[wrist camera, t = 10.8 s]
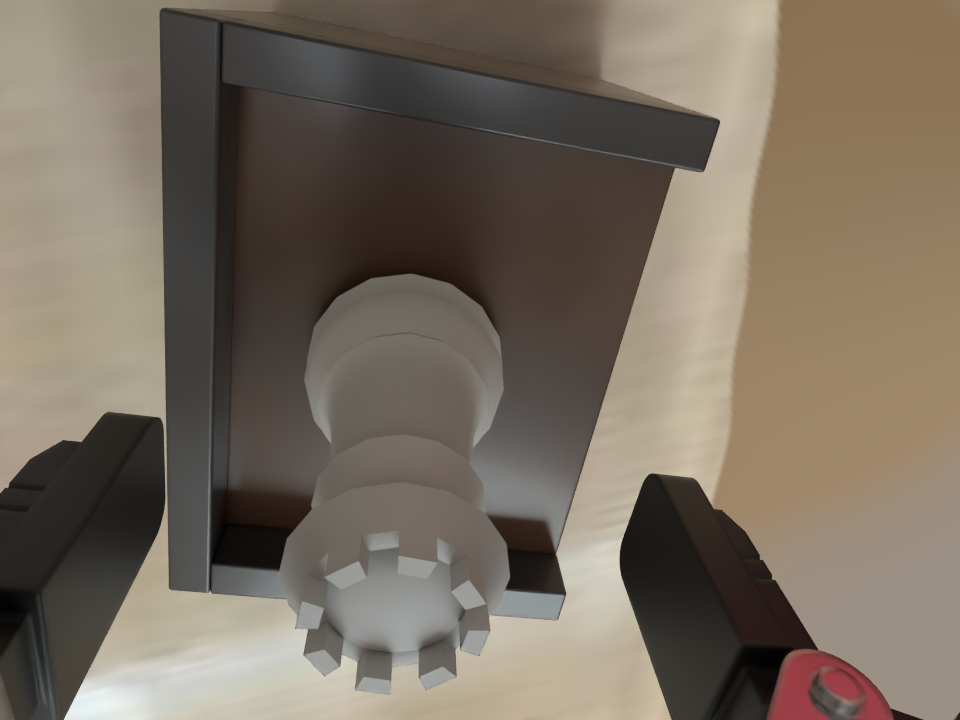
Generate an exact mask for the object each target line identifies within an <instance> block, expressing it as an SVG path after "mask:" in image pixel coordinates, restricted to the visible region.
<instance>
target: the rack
mask: <svg viewBox="0 0 960 720" xmlns="http://www.w3.org/2000/svg"><path fill="white" fill-rule="evenodd" d="M160 72H161V133H162V193H163V254H164V315H165V375H166V436H167V497H168V557H169V588H170V589H171V590H178V591H191V592H204V593H208V592H210V590H211V593H213V594H225V595H238V596H251V597H263V598H276V599H287V597H286V594H285V591H284V588H283V584H282V581H281V578H280V575H279V571H280V566H281V562H282V558H283V553H284V549H285V545H286V540H287V538H288V537H289V535H290V534H291V533H292V532H293V531H294V530H295V529H296V527H297V526H298V525H299V524H300V523H301V522H302V521H303V519H304V518H305V517H306V516H307V515H308V514H309V512H310V511H311V510H312V506H311V503H312V499H313V495H314V491H315V487H316V483H317V479H318V477H319V476H320V474H321V473H322V472H323V471H324V470H325V468H326V467H327V466H328V465H329V464H330V463H331V461H332V459H331V443H330V442H329V440H328V439H327V438H326V436H325V435H324V433H323V431H322V430H321V429H320V427H319V426H318V425H317V424H316V422H315V421H314V418H313V414H312V410H311V406H310V402H309V398H308V394H307V390H306V386H305V381H304V377H305V372H306V367H307V357H308V353H309V348H310V344H311V339H312V334H313V330H314V326H315V325H316V323H317V322H318V321H319V320H320V318H321V317H322V316H323V314H324V313H325V312H326V310H327V309H328V308H329V307H330V305H331V304H332V303H333V301H334V300H335V299H336V298H337V297H338V296H340V295H342V294H343V293H345V292H347V291H349V290H351V289H353V288H354V287H356V286H358V285H360V284H362V283H364V282H365V281H367V280H369V279H371V278H378V277H387V276H395V275H404V274H415V275H419V276H423V277H427V278H431V279H435V280H438V281H442V282H446V283H450V284H452V285H453V286H455V287H456V288H457V289H459V290H460V291H461V292H463V293H464V294H465V295H467V296H468V297H469V298H471V299H472V300H474V301H475V302H476V303H478V304H479V305H480V306H482V308H483V310H484V311H485V313H486V315H487V317H488V318H489V320H490V322H491V323H492V325H493V327H494V329H495V330H496V332H497V334H498V336H499V337H500V347H501V358H502V369H503V372H502V375H503V386H504V390H503V393H502V396H501V399H500V402H499V404H498V407H497V410H496V413H495V415H494V418H493V421H492V424H491V426H490V429H489V430H488V431H487V432H486V433H485V434H484V435H483V436H482V437H481V438H480V440H479V442H478V443H477V444H476V445H475V446H474V447H473V450H472V459H471V466H472V468H473V469H474V471H475V472H476V474H477V475H478V477H479V478H480V480H481V481H482V483H483V488H484V497H485V505H486V512H485V513H486V515H487V516H488V518H489V519H490V520H491V522H492V523H493V525H494V526H495V528H496V529H497V531H498V532H499V533H500V535H501V536H502V538H503V539H504V541H505V542H506V544H507V552H508V561H509V571H510V579H509V581H508V584H507V586H506V588H505V591H504V593H503V595H502V598H501V600H500V603H499V605H498V607H497V609H496V610H495V611H494V612H493V613H492V614H491V615H495V616H508V617H521V618H534V619H547V620H558V618H559V615H560V612H561V609H562V606H563V603H564V599H565V596H566V591H565V587H564V583H563V579H562V575H561V571H560V567H559V563H558V559H557V556H556V552H557V549H558V546H559V543H560V539H561V536H562V533H563V530H564V526H565V523H566V520H567V517H568V513H569V510H570V507H571V504H572V500H573V497H574V494H575V491H576V487H577V484H578V481H579V478H580V474H581V471H582V468H583V465H584V461H585V458H586V455H587V452H588V448H589V445H590V442H591V439H592V435H593V432H594V429H595V426H596V422H597V419H598V416H599V413H600V409H601V406H602V403H603V400H604V396H605V393H606V390H607V387H608V383H609V380H610V377H611V374H612V370H613V367H614V364H615V361H616V357H617V354H618V351H619V348H620V344H621V341H622V338H623V335H624V331H625V328H626V325H627V322H628V318H629V315H630V312H631V309H632V305H633V302H634V299H635V296H636V292H637V289H638V286H639V283H640V279H641V276H642V273H643V270H644V266H645V263H646V260H647V257H648V253H649V250H650V247H651V244H652V240H653V237H654V234H655V231H656V227H657V224H658V221H659V218H660V214H661V211H662V208H663V205H664V201H665V198H666V195H667V192H668V188H669V185H670V182H671V179H672V175H673V172H674V169H675V168H679V169H684V170H690V171H695V172H703V171H704V170H705V168H706V165H707V161H708V158H709V155H710V152H711V149H712V146H713V143H714V140H715V137H716V134H717V131H718V128H719V125H720V121H719V120H718V119H717V118H714V117H711V116H708V115H705V114H702V113H699V112H696V111H693V110H689V109H687V108H684V107H681V106H678V105H675V104H672V103H669V102H666V101H663V100H660V99H657V98H655V97H652V96H649V95H646V94H643V93H640V92H637V91H634V90H631V89H628V88H625V87H622V86H619V85H616V84H613V83H610V82H607V81H604V80H601V79H597V78H592V77H587V76H582V75H577V74H572V73H567V72H562V71H558V70H553V69H548V68H543V67H538V66H533V65H528V64H523V63H519V62H514V61H509V60H504V59H499V58H494V57H489V56H484V55H479V54H475V53H470V52H465V51H460V50H455V49H450V48H445V47H440V46H435V45H431V44H426V43H421V42H416V41H411V40H406V39H401V38H396V37H391V36H387V35H382V34H377V33H372V32H367V31H362V30H357V29H352V28H348V27H343V26H338V25H333V24H328V23H323V22H318V21H313V20H308V19H304V18H299V17H294V16H289V15H284V14H279V13H274V12H252V11H230V10H208V9H206V10H205V9H182V8H162V9H161V10H160Z"/></svg>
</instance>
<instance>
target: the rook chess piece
mask: <svg viewBox="0 0 960 720" xmlns="http://www.w3.org/2000/svg"><path fill="white" fill-rule="evenodd" d="M502 372H503V369H502V358H501V347H500V337H499V336H498V334H497V332H496V330H495V329H494V327H493V325H492V323H491V322H490V320H489V318H488V317H487V315H486V313H485V311H484V310H483V308H482V306H480V305H479V304H478V303H476V302H475V301H474V300H472V299H471V298H469V297H468V296H467V295H465V294H464V293H463V292H461V291H460V290H459V289H457V288H456V287H455V286H453V285H452V284H450V283H446V282H442V281H438V280H435V279H431V278H427V277H423V276H419V275H415V274H404V275H395V276H387V277H378V278H371V279H369V280H367V281H365V282H364V283H362V284H360V285H358V286H356V287H354V288H353V289H351V290H349V291H347V292H345V293H343V294H342V295H340V296H338V297H337V298H336V299H335V300H334V301H333V303H332V304H331V305H330V307H329V308H328V309H327V310H326V312H325V313H324V314H323V316H322V317H321V318H320V320H319V321H318V322H317V323H316V325H315V326H314V330H313V334H312V339H311V344H310V348H309V353H308V357H307V367H306V372H305V377H304V381H305V386H306V390H307V394H308V398H309V402H310V406H311V410H312V414H313V418H314V421H315V422H316V424H317V425H318V426H319V427H320V429H321V430H322V431H323V433H324V435H325V436H326V438H327V439H328V440H329V442H330V443H331V459H332V461H331V463H330V464H329V465H328V466H327V467H326V468H325V470H324V471H323V472H322V473H321V474H320V476H319V477H318V479H317V483H316V487H315V491H314V495H313V499H312V503H311V506H312V510H311V511H310V512H309V514H308V515H307V516H306V517H305V518H304V519H303V521H302V522H301V523H300V524H299V525H298V526H297V527H296V529H295V530H294V531H293V532H292V533H291V534H290V535H289V537H288V538H287V540H286V545H285V549H284V553H283V558H282V562H281V566H280V571H279V575H280V578H281V581H282V584H283V588H284V591H285V594H286V597H287V600H288V604H289V606H290V607H291V608H292V610H293V611H294V612H295V613H296V614H297V615H298V617H297V622H296V627H295V629H308V633H307V638H306V644H305V649H304V654H303V655H304V656H305V657H306V658H307V659H308V660H309V661H310V662H311V663H312V664H313V665H314V666H315V667H316V668H317V669H318V670H319V671H320V672H321V673H322V674H323V675H324V676H326V675H328V674H329V673H331V672H332V671H334V670H335V669H337V668H338V667H340V663H341V655H344V656H346V657H348V658H350V659H353V660H355V661H357V662H358V666H357V676H356V685H355V690H356V691H364V692H371V693H379V694H386V695H390V690H391V672H392V667H394V666H401V665H409V664H417V663H419V679H420V681H421V682H422V684H423V686H424V688H425V690H428V689H430V688H432V687H434V686H437V685H439V684H441V683H444V682H446V681H448V680H451V679H453V678H455V677H457V674H456V655H455V649H456V648H457V647H458V646H459V645H460V650H461V651H464V652H467V653H470V654H474V655H477V656H480V654H481V651H482V649H483V647H484V644H485V642H486V640H487V637H488V635H489V633H490V624H489V616H490V615H491V614H492V613H493V612H494V611H495V610H496V609H497V607H498V605H499V603H500V600H501V598H502V595H503V593H504V591H505V588H506V586H507V584H508V581H509V579H510V571H509V561H508V552H507V544H506V542H505V541H504V539H503V538H502V536H501V535H500V533H499V532H498V531H497V529H496V528H495V526H494V525H493V523H492V522H491V520H490V519H489V518H488V516H487V515H486V513H485V512H486V505H485V497H484V488H483V483H482V481H481V480H480V478H479V477H478V475H477V474H476V472H475V471H474V469H473V468H472V466H471V459H472V450H473V447H474V446H475V445H476V444H477V443H478V442H479V440H480V438H481V437H482V436H483V435H484V434H485V433H486V432H487V431H488V430H489V429H490V426H491V424H492V421H493V418H494V415H495V413H496V410H497V407H498V404H499V402H500V399H501V396H502V393H503V390H504V386H503V375H502Z"/></svg>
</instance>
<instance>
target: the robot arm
mask: <svg viewBox="0 0 960 720" xmlns="http://www.w3.org/2000/svg"><path fill="white" fill-rule="evenodd" d="M164 506H165V463H164V429H163V423H162V420H161V419H160V418H158V417H150V416H141V415H132V414H123V413H114V412H107V413H105V414H104V415H103V416H102V417H101V418H100V420H99V421H98V422H97V423H96V425H95V426H94V427H93V428H92V430H91V431H90V432H89V434H88V435H87V436H86V437H85V439H84V440H83V441H82V442H75V441H66V440H63V441H61V442H59V443H58V444H56V445H54V446H52V447H51V448H49V449H47V450H45V451H44V452H42V453H40V454H38V455H37V456H35V457H33V458H32V459H30V460H29V461H28V462H27V464H26V465H25V466H24V467H23V468H22V469H21V470H20V472H19V473H18V474H17V475H16V476H15V477H14V478H13V480H12V481H11V482H10V483H9V488H5V489H4V490H3V491H2V492H1V493H0V720H64V718H65V716H66V714H67V712H68V710H69V708H70V706H71V704H72V702H73V700H74V698H75V696H76V694H77V692H78V690H79V688H80V686H81V684H82V682H83V680H84V678H85V676H86V674H87V672H88V670H89V668H90V666H91V664H92V663H93V661H94V659H95V657H96V655H97V653H98V651H99V649H100V647H101V645H102V643H103V641H104V639H105V637H106V635H107V633H108V631H109V629H110V627H111V625H112V623H113V621H114V619H115V617H116V615H117V613H118V611H119V609H120V607H121V605H122V603H123V601H124V599H125V597H126V595H127V593H128V591H129V589H130V587H131V586H132V584H133V582H134V580H135V578H136V576H137V574H138V572H139V570H140V568H141V566H142V564H143V562H144V560H145V558H146V556H147V554H148V552H149V550H150V548H151V546H152V544H153V542H154V540H155V538H156V536H157V534H158V531H159V528H160V525H161V521H162V517H163V513H164ZM620 571H621V576H622V579H623V582H624V585H625V588H626V591H627V594H628V596H629V599H630V602H631V605H632V608H633V611H634V614H635V616H636V619H637V622H638V625H639V628H640V631H641V633H642V636H643V639H644V642H645V645H646V648H647V651H648V653H649V656H650V659H651V662H652V665H653V668H654V671H655V673H656V676H657V679H658V682H659V685H660V688H661V690H662V693H663V696H664V699H665V702H666V705H667V708H668V710H669V713H670V716H671V719H672V720H922V719H919V718H917V717H914V716H911V715H908V714H904V713H902V712H899V711H896V710H893V709H891V708H890V707H889V705H888V703H887V701H886V699H885V698H884V696H883V695H882V693H881V692H880V691H879V690H878V688H877V687H876V686H875V685H874V684H873V683H872V682H871V681H870V680H869V679H868V678H867V677H866V676H865V675H864V674H863V673H861V672H860V671H859V670H857V669H856V668H854V667H853V666H852V665H850V664H849V663H847V662H845V661H844V660H842V659H840V658H838V657H836V656H834V655H831V654H828V653H826V652H823V651H819V650H818V648H817V647H816V646H815V644H814V642H813V640H812V639H811V637H810V636H809V634H808V632H807V631H806V629H805V627H804V626H803V624H802V623H801V621H800V619H799V618H798V616H797V615H796V613H795V611H794V610H793V608H792V606H791V605H790V603H789V602H788V600H787V598H786V597H785V595H784V594H783V592H782V590H781V589H780V587H779V586H778V584H777V582H776V581H775V580H772V574H771V572H770V571H769V569H768V568H767V566H766V564H765V563H764V561H763V560H760V555H759V553H758V551H757V550H756V548H755V547H754V545H753V543H752V542H751V540H750V539H749V537H748V535H747V534H746V532H745V531H744V530H743V529H742V528H741V527H740V526H738V525H737V524H736V523H735V522H734V521H733V520H732V519H731V518H730V517H729V516H727V515H726V514H725V513H724V512H723V511H722V510H716V509H713V507H712V505H711V504H710V502H709V500H708V498H707V497H706V495H705V493H704V492H703V490H702V488H701V486H700V485H699V483H698V482H697V481H696V480H695V479H694V478H688V477H679V476H670V475H661V474H649V475H648V476H647V477H646V479H645V480H644V482H643V485H642V487H641V490H640V493H639V496H638V498H637V501H636V504H635V507H634V509H633V512H632V515H631V518H630V520H629V523H628V526H627V529H626V532H625V534H624V537H623V540H622V544H621V549H620ZM954 720H960V713H959V714H958V715H957V717H956V718H955V719H954Z"/></svg>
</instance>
